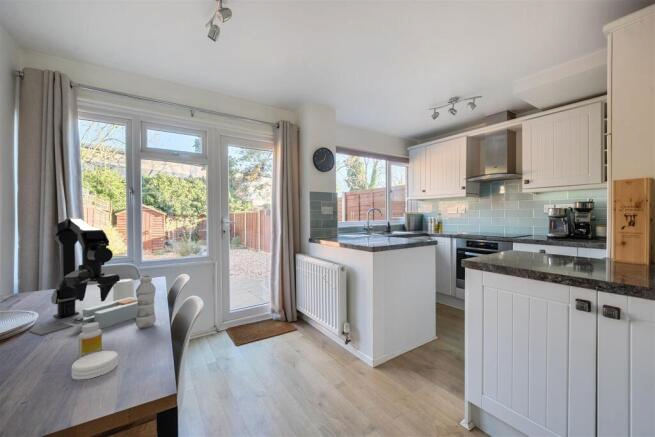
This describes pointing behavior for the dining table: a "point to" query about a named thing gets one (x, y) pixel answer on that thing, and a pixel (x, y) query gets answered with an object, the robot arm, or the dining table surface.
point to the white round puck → (94, 364)
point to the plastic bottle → (145, 303)
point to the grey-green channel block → (111, 313)
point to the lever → (82, 319)
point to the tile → (125, 302)
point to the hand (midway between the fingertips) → (92, 301)
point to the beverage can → (123, 289)
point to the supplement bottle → (90, 339)
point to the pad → (50, 328)
